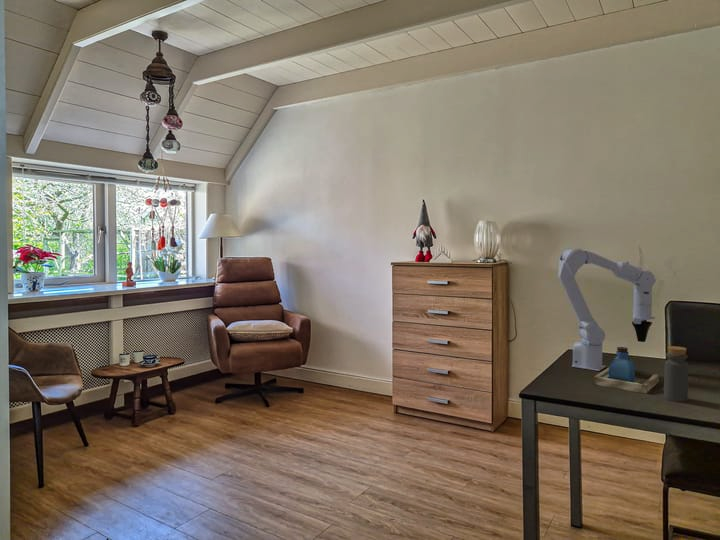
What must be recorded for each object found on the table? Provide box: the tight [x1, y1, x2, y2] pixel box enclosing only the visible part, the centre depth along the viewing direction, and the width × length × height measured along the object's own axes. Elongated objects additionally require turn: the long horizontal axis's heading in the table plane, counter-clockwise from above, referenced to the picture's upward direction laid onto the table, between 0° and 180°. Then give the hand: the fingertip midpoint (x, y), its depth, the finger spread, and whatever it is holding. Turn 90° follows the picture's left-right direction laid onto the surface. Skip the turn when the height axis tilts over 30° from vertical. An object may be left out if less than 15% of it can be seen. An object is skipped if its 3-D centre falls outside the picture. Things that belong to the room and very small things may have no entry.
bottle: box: [663, 345, 690, 403], centre depth 143 cm, size 6×6×15 cm
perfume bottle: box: [608, 346, 636, 383], centre depth 157 cm, size 6×6×12 cm
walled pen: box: [593, 367, 660, 394], centre depth 160 cm, size 15×17×2 cm
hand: (641, 341), depth 178 cm, fingers closed
